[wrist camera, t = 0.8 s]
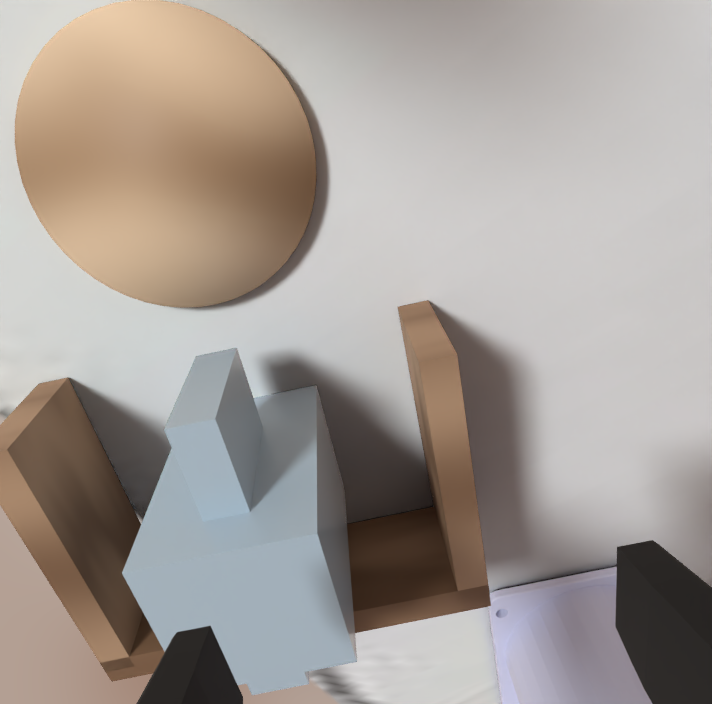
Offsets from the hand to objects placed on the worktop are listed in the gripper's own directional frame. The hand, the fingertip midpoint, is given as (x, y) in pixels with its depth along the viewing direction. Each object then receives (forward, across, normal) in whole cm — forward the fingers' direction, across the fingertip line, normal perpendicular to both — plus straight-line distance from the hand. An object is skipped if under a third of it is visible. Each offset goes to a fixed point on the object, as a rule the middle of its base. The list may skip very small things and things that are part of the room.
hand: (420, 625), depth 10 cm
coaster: (+10, +4, -8) cm, 13 cm away
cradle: (+10, +4, +2) cm, 11 cm away
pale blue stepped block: (+10, +4, +2) cm, 11 cm away
